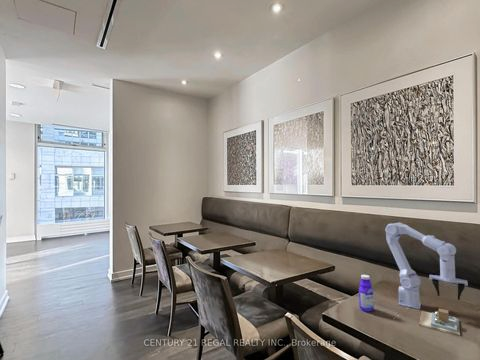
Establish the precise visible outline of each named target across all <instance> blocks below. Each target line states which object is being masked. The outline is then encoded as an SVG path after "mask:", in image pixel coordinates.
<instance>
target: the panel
mask: <svg viewBox="0 0 480 360" xmlns="http://www.w3.org/2000/svg"><path fill="white" fill-rule="evenodd" d="M437 311H438V314H439V317H437V315H436V314H435V312H431V313H432V317H431V326H435V327H439V328H443V329H446V330H450V331H454V332H457V322H456V319H457V317H454V316H451V315H449V310H448V309H443V308H438V310H437ZM435 317H436V318H440V319H442V322H440V324H438V323H436V321H435V320H434V318H435ZM449 319H452V320H454V321H451V320H449ZM443 324H444V325H448V326H452V327H455V329H454V328H450V327H446V326H443Z"/></svg>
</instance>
